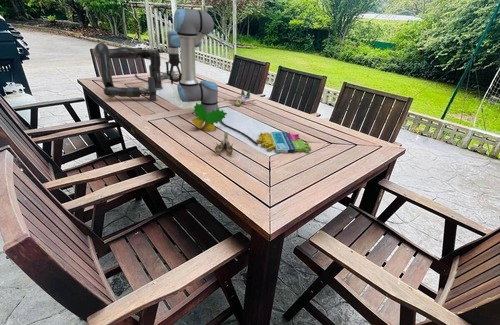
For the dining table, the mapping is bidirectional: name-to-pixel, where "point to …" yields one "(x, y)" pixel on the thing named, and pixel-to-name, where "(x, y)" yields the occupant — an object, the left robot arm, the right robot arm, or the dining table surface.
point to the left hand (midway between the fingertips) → (155, 92)
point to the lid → (175, 79)
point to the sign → (283, 142)
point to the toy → (241, 99)
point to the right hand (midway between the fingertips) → (176, 84)
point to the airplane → (167, 75)
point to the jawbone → (224, 145)
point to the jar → (152, 88)
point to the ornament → (207, 117)
